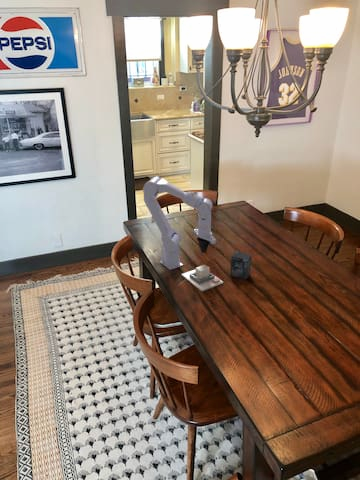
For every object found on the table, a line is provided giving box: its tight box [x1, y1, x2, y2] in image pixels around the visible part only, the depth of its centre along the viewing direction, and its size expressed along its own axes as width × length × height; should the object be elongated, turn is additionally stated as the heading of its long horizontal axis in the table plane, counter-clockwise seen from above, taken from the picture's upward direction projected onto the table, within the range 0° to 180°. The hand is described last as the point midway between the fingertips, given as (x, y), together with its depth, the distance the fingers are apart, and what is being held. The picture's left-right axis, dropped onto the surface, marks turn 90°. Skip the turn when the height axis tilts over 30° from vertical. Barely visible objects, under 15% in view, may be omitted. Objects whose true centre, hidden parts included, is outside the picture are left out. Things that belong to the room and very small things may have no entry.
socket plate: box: [181, 268, 224, 292], centre depth 169 cm, size 16×12×2 cm
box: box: [229, 251, 252, 280], centre depth 170 cm, size 8×6×11 cm
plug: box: [195, 264, 211, 279], centre depth 168 cm, size 4×5×5 cm
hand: (203, 251), depth 173 cm, fingers closed
